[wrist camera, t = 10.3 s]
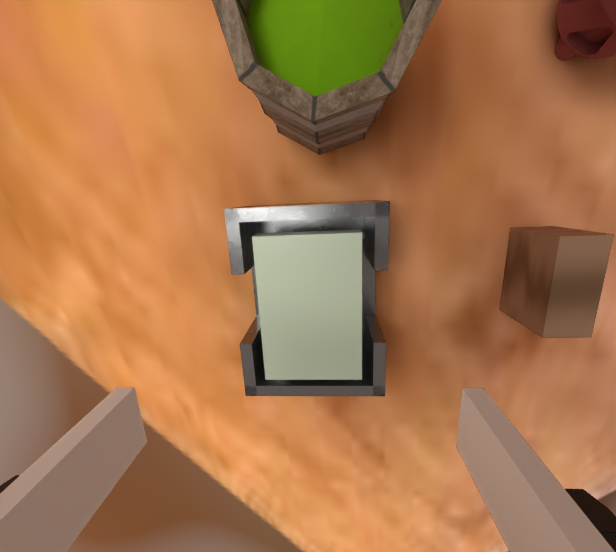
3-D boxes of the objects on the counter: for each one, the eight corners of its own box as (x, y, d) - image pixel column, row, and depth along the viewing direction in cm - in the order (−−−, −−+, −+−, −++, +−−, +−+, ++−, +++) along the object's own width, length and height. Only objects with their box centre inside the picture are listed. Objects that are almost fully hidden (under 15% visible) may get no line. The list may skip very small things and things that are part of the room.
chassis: (247, 206, 28) (223, 208, 22) (375, 200, 27) (389, 201, 21) (261, 356, 32) (245, 395, 26) (373, 356, 31) (384, 396, 25)
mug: (379, 159, 26) (421, 130, 15) (259, 149, 27) (207, 114, 15) (410, -65, 22) (502, -354, 10) (267, -72, 22) (203, -356, 11)
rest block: (510, 227, 27) (560, 236, 21) (551, 226, 27) (614, 234, 21) (499, 309, 29) (542, 337, 23) (538, 309, 29) (591, 337, 23)
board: (258, 233, 24) (251, 236, 22) (359, 229, 23) (362, 232, 21) (270, 366, 27) (265, 379, 25) (359, 366, 26) (361, 379, 24)
